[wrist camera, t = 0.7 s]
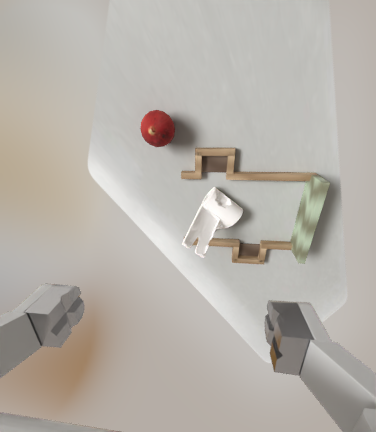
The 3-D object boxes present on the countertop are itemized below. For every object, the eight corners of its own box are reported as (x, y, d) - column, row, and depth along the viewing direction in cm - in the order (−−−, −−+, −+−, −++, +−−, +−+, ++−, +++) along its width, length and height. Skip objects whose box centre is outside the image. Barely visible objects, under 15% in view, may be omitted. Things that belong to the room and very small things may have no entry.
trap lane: (181, 147, 41) (176, 153, 35) (321, 148, 38) (339, 154, 33) (184, 255, 53) (181, 272, 48) (290, 261, 50) (299, 280, 45)
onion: (183, 123, 39) (177, 127, 32) (167, 149, 41) (158, 158, 34) (157, 103, 38) (144, 102, 30) (142, 131, 40) (127, 136, 33)
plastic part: (241, 205, 45) (250, 234, 35) (211, 234, 49) (212, 268, 39) (215, 184, 44) (216, 208, 33) (186, 216, 48) (180, 246, 38)
